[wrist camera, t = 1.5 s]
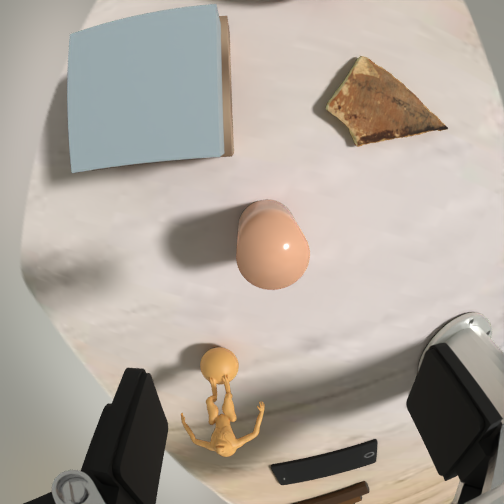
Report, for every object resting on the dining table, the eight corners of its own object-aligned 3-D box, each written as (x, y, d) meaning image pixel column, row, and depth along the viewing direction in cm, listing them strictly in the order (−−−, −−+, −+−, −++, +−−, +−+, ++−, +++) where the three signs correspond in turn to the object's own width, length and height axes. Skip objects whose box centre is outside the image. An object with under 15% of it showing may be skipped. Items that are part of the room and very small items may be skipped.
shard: (440, 127, 25) (450, 128, 23) (403, 187, 27) (412, 190, 25) (358, 55, 22) (364, 50, 21) (314, 117, 25) (319, 116, 23)
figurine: (252, 332, 32) (256, 423, 20) (266, 371, 34) (273, 458, 22) (178, 347, 32) (156, 434, 21) (198, 384, 34) (186, 468, 23)
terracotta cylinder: (294, 252, 28) (308, 287, 22) (239, 254, 28) (238, 291, 22) (294, 198, 27) (310, 219, 20) (237, 200, 27) (234, 222, 20)
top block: (224, 153, 21) (220, 156, 18) (97, 166, 21) (71, 173, 17) (220, 24, 18) (216, 4, 14) (94, 46, 18) (70, 34, 14)
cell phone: (374, 458, 44) (376, 462, 43) (280, 481, 45) (280, 485, 44) (376, 436, 41) (377, 440, 40) (269, 462, 42) (270, 467, 41)
